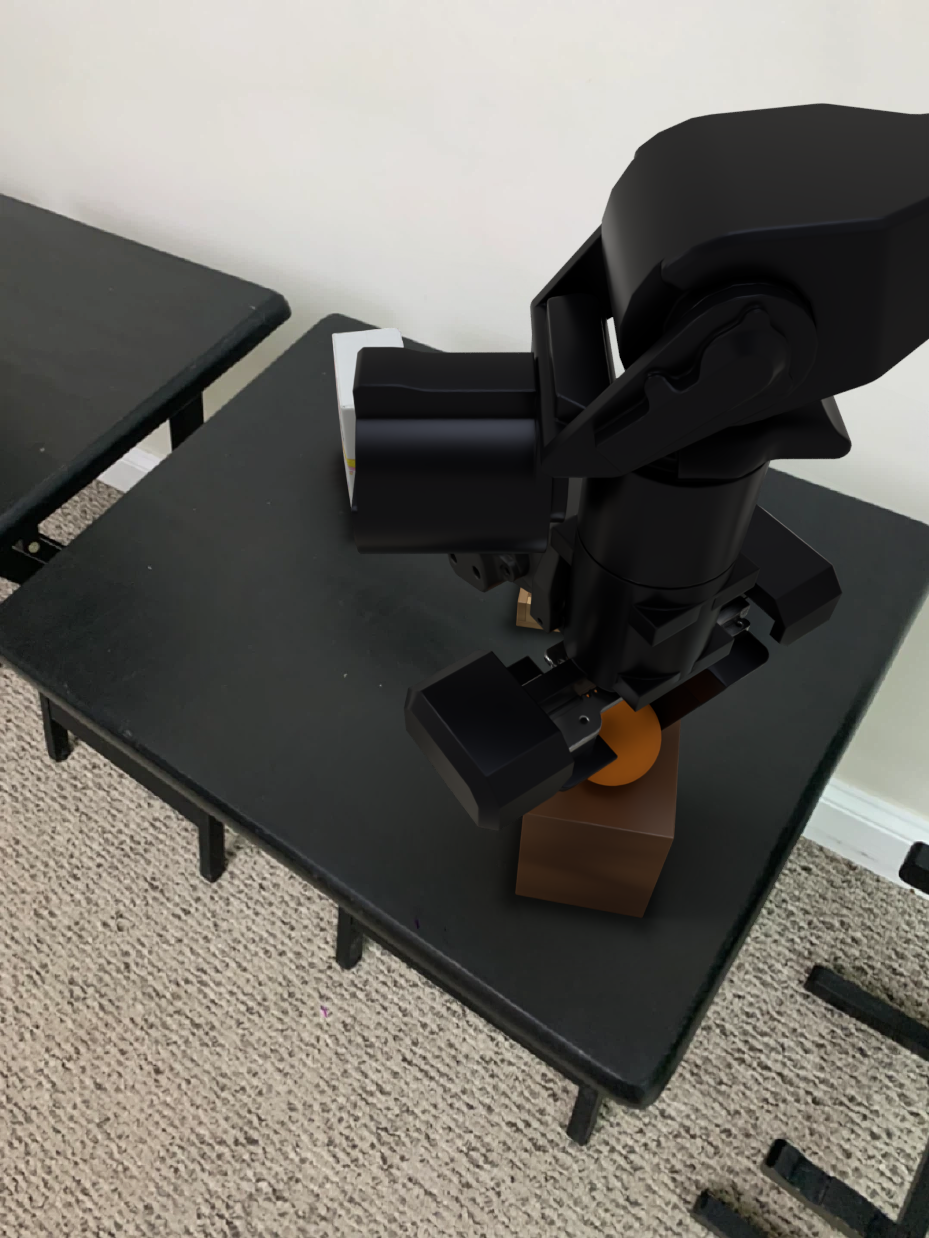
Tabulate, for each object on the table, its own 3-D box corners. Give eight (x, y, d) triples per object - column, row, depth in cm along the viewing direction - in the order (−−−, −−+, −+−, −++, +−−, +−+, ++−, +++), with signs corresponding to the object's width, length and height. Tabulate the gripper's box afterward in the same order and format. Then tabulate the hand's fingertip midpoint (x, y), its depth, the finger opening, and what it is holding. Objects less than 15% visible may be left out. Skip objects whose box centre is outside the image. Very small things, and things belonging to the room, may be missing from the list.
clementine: (655, 728, 46) (672, 675, 42) (649, 811, 43) (666, 761, 40) (564, 713, 47) (572, 660, 43) (552, 794, 44) (559, 744, 40)
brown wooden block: (651, 803, 54) (681, 711, 47) (642, 918, 50) (674, 838, 42) (533, 783, 55) (543, 690, 47) (515, 894, 51) (523, 812, 43)
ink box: (344, 458, 73) (326, 329, 64) (407, 451, 74) (399, 322, 64) (354, 537, 68) (335, 409, 59) (422, 529, 68) (414, 400, 59)
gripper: (698, 326, 40) (644, 567, 52) (311, 499, 33) (355, 728, 45) (908, 473, 34) (792, 706, 46) (490, 718, 27) (484, 912, 40)
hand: (607, 753), depth 44 cm, fingers closed on clementine, 4 cm apart
